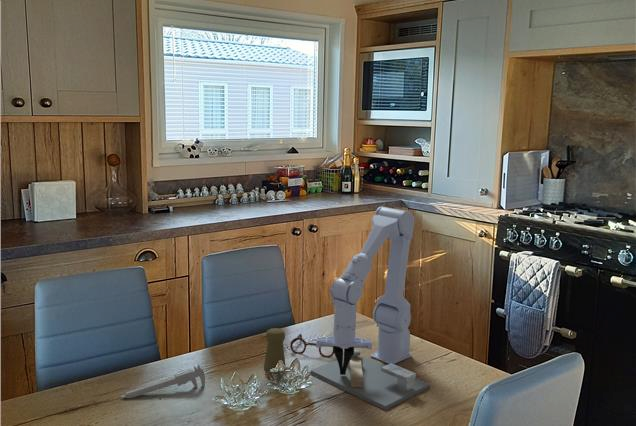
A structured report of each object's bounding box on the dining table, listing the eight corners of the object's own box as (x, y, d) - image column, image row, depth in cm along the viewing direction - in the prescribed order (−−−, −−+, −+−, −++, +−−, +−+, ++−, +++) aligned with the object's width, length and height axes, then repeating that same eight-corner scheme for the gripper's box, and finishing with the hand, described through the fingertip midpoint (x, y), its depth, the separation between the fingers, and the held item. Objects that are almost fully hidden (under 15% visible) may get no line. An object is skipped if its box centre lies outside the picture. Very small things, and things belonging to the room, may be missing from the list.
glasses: (289, 354, 177) (290, 338, 177) (300, 338, 190) (301, 322, 189) (333, 359, 175) (334, 343, 174) (342, 343, 187) (342, 327, 186)
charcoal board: (355, 356, 177) (355, 352, 176) (429, 387, 158) (429, 384, 158) (310, 373, 164) (310, 370, 164) (385, 409, 146) (385, 406, 146)
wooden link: (346, 361, 169) (346, 348, 169) (362, 362, 169) (362, 348, 169) (348, 386, 155) (349, 372, 154) (365, 387, 155) (366, 372, 154)
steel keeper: (380, 382, 158) (381, 367, 158) (390, 377, 161) (391, 363, 160) (405, 393, 153) (406, 377, 152) (414, 388, 155) (415, 373, 155)
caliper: (204, 386, 156) (204, 363, 154) (204, 388, 155) (205, 364, 153) (120, 398, 148) (119, 374, 147) (120, 400, 147) (120, 375, 146)
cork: (282, 373, 163) (283, 335, 162) (260, 371, 165) (261, 332, 163) (288, 364, 169) (289, 327, 167) (267, 362, 170) (267, 324, 169)
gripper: (316, 328, 155) (314, 378, 157) (373, 330, 154) (371, 380, 157) (317, 319, 162) (315, 367, 164) (371, 321, 161) (369, 369, 164)
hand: (342, 373), depth 161 cm, fingers closed
